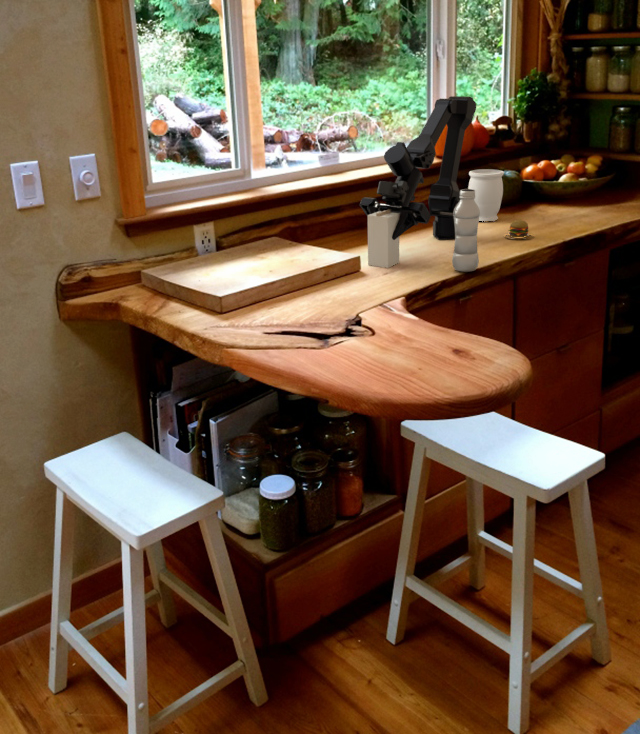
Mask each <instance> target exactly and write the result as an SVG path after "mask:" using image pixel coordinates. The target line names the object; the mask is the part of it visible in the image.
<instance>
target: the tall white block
mask: <svg viewBox="0 0 640 734" xmlns="http://www.w3.org/2000/svg"><path fill="white" fill-rule="evenodd" d="M399 219H400V214H399V213H392V212H390V210H389V209H388V210H385V211H378V212H376V213H373V214H370V215H368V216H367V264H368V266H371V265H372V267H379V268H384V267H386V268H385V269H389V268H391V267H393V265H394V266H396V265H398V264H400V236H399V237H398V238H396V239H395V240H393V239H392V235H393V232H394V230H395V228H396V226H397V223H398V221H399ZM397 263H398V264H397ZM395 264H396V265H395Z"/></svg>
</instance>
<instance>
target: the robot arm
mask: <svg viewBox="0 0 640 734" xmlns="http://www.w3.org/2000/svg"><path fill="white" fill-rule="evenodd" d="M476 111H477V103H476V101H475V100H474V98H473V97H472V96H461V95H460V96H457V95H456V96H455V95H450V96H449V97H448V98H439V99H436V101H435V103H434V108H433V110H432V112H431V113H430V115H429V117H428V118H427V120H426V123H425V125H424V126H423V128H422V130H421V132H420V134H419V135H418V136H417V137H415V138H414V139H412V140H411V141H410V142H409V144H408V145H407V146H406V143H405V142H403V141H401V142H400V141H397V142H396V144H395V145H393V146H391V147H389V148H388V149H387V150H386V151H385V152H384V156H383V158H384V160H385V162H386V164H387V166H388V168H389V169H390V172H392V174H393V175H394V176H395V177H397V178H395V181H394V182H393V181H383V180H382V181H381V180H380V181H379V182H378V187H377V189H376V194H377V195H379V196H382V201H383V202H385V203H380V202H379V200H378V199H377V198H376V197H368V196H367V197H366V196H365V197H362V199H361V200H360V203H359V207H360V208H361V209H362V211H363V212H364V214H365V215H366V217H368V215H370V214H373V213H376V212H378V211H385V210H388V209H389V210H390V212H392V213H399V221H398V223H397V226H396V228H395V230H394V232H393V235H392V239H393V240H395V239H396V238H398V237H399V238H400V236H401V235H403V234H404V233H405V232H407V230H409V229H411V228H412V227H414V226H418V225H419V224H426V225H427V224H429V222H430V219H431V217H434V220H433V222H432V235H433V237H434V238H436V239H437V240H439V241H441V240H452V239H453V240H455V224H454V216H453V211H454V208H455V207H456V205H457V204H458V202H459V201H460V198H459V196H460V188H459V186H458V184H457V180H458V175H459V174H458V172H459V168H460V161H461V156H462V149H463V143H464V138H465V132H466V130H467V128H468V127H469V126H470V125H471V124H472V123H473V121H474V116H475V113H476ZM445 127H447V129H446V136H445V142H444V143H445V144H444V146H443V147H444V148H443V154H442V159H441V165H440V171H439V177H438V180H437V181H436V182H435V183H432V184H431V186H430V188H429V189H430V190H429V194H428V198H427V199H428V200H427V205H428V208H427V206H426V204H425V203H424V202H417V201H415V199H416V196H415V195H414V194H415V192H416V190H417V188H418V187H419V184H424V183H425V181H424V179H425V178H424V177H423V172H421V171H420V169H425V170H426V169H427V170H428V169H430V168H431V167H432V165H433V163H434V161H435V157H436V156H437V152H436V145H437V143H438V141H439V140H440V137H441V136H442V133H443V131H444V130H445Z"/></svg>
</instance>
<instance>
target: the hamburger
mask: <svg viewBox="0 0 640 734" xmlns="http://www.w3.org/2000/svg"><path fill="white" fill-rule="evenodd" d="M508 231H509V232H508V233H509V234H510V235H509V236H510V237H511V236H512V237H524V236H527V237H528V236H529V235H528V234H529V233H530V232H529V224H528V223H527V221H526V220H523V219H516V220H513V221H512V222H511V223H510V225H509V229H508ZM512 237H511V238H512Z"/></svg>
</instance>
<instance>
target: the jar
mask: <svg viewBox="0 0 640 734" xmlns="http://www.w3.org/2000/svg"><path fill="white" fill-rule="evenodd" d="M504 173H505V171H503V170H499V169H492V168H491V169H489V168H488V169H487V168H486V169H485V168H482V169H474V170H470V171H469V172H468V175H469V177H470V179H469V182H468V187H467V189H474V190H475V198H474V201H475V202H476V204H477V205H478V207H479V210H480V216H479V221H482V222H481V223H486V222H485V221H493V222H496V221H495V220H497V219H498V220H499V217H498V215H497V214H498V213H499V212H500V208H501V204H502V200H503V195H504V183H503V178H502V177H503V176H504ZM498 220H497V221H498ZM483 221H484V222H483Z"/></svg>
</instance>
